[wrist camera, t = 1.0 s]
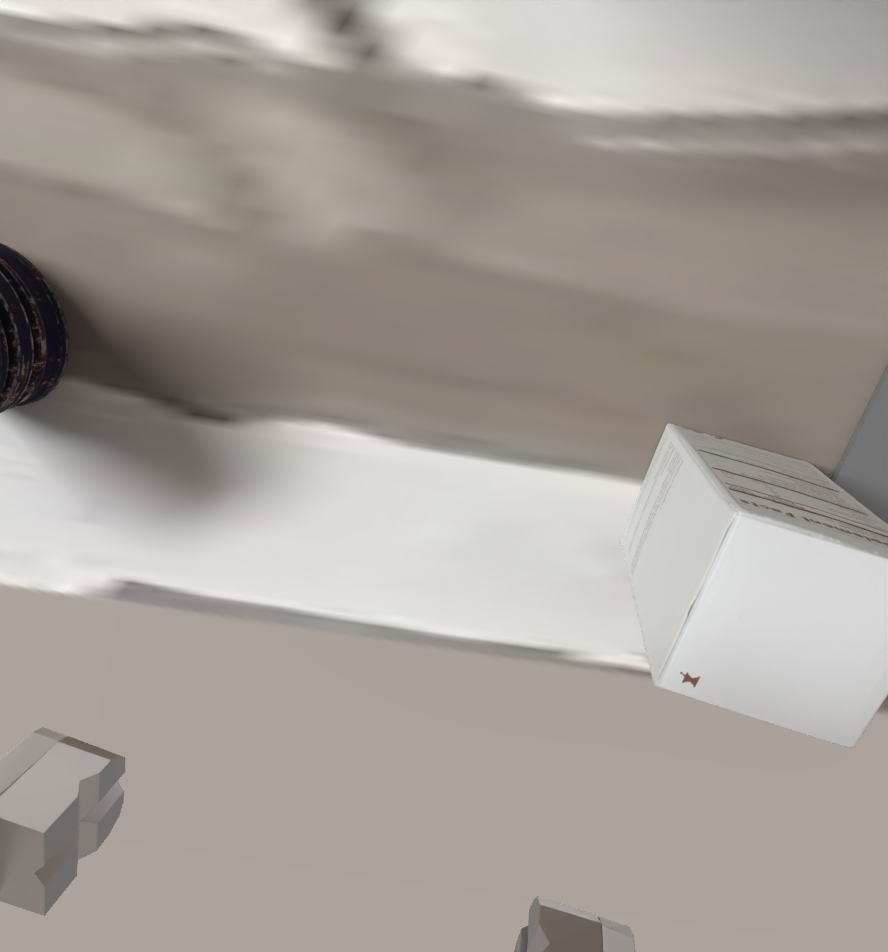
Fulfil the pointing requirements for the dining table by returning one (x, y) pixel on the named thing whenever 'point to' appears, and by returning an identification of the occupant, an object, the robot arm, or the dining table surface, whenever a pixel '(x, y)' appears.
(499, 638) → the dining table surface
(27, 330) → the storage jar
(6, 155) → the dining table surface
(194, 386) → the dining table surface
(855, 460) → the mat
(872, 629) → the supplement box
